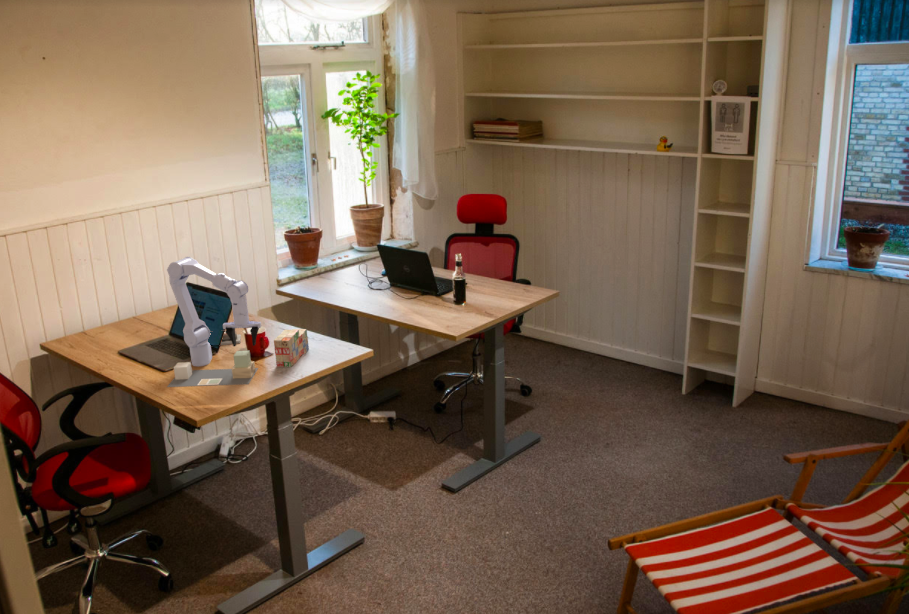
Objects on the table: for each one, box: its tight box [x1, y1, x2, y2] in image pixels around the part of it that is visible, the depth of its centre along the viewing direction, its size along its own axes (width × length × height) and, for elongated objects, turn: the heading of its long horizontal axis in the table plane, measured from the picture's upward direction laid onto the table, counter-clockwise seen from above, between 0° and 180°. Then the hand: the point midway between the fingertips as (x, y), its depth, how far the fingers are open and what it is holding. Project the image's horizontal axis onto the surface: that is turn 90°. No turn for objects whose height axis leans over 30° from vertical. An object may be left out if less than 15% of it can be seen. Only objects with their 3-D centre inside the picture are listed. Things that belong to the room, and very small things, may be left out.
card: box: [196, 378, 222, 387], centre depth 297 cm, size 6×8×1 cm
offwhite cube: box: [173, 361, 193, 380], centre depth 302 cm, size 5×5×5 cm
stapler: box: [220, 329, 242, 346], centre depth 341 cm, size 18×5×10 cm
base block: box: [231, 360, 256, 379], centre depth 302 cm, size 7×7×4 cm
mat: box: [166, 367, 259, 388], centre depth 301 cm, size 16×31×1 cm, turn 90°
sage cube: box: [233, 350, 252, 368], centre depth 301 cm, size 5×5×5 cm
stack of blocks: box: [273, 328, 310, 368], centre depth 318 cm, size 21×6×12 cm, turn 171°
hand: (244, 345), depth 306 cm, fingers open, 7 cm apart
